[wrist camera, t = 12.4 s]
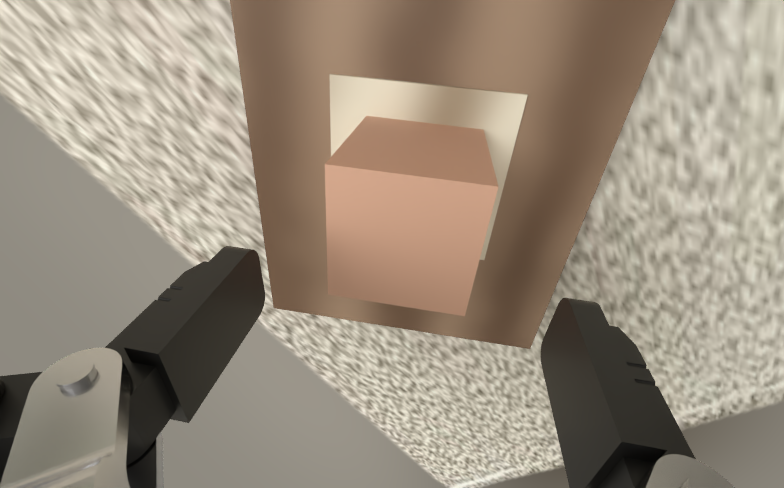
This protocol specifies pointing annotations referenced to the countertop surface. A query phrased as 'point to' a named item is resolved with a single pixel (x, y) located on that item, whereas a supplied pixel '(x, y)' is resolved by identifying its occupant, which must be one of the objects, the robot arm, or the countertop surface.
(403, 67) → the plinth
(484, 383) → the countertop surface
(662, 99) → the countertop surface
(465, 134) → the block
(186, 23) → the countertop surface
